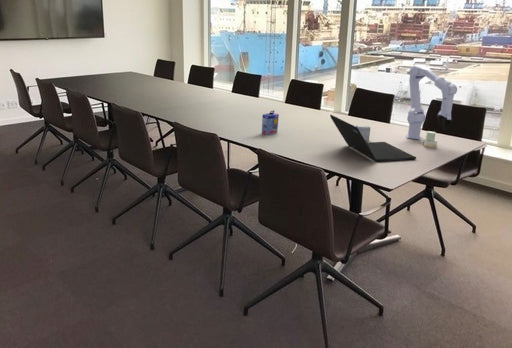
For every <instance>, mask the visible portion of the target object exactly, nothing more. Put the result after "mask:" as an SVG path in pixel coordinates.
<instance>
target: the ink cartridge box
mask: <svg viewBox="0 0 512 348" xmlns="http://www.w3.org/2000/svg"><path fill="white" fill-rule="evenodd" d="M279 116H280V113H276V112H275V110H270V112H269V113H264V114H262V119H261V121H262V123H261V134H263V135H265V136H269V135H274V134H277V133H278V127H279Z"/></svg>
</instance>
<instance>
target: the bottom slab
mask: <svg viewBox="0 0 512 348" xmlns="http://www.w3.org/2000/svg"><path fill="white" fill-rule="evenodd" d="M437 146H438V144H437V145H428V144H425V143H424V142H423V147H425V148H433V149H437Z"/></svg>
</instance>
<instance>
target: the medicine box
mask: <svg viewBox="0 0 512 348" xmlns="http://www.w3.org/2000/svg"><path fill="white" fill-rule="evenodd" d="M355 127H357V128H358V130H359V131H360V133H361V135H362V136H363V138H364V140H365V141H366V142H369V141H370V135H371V127H370V126H369V125H355Z"/></svg>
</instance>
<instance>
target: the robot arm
mask: <svg viewBox="0 0 512 348" xmlns="http://www.w3.org/2000/svg"><path fill="white" fill-rule="evenodd" d="M425 77H426V78H427V79H429V80H431V81H432V82H433V83H434V86H435V87H436V88H437V89H439V90H440V92H441V94H442V95H441V97H442V100H441V106H440V110H439V112H438V113H437V115H436V117H437V121H438V128H440V129H442V131H443V132H447V131H448V129H449V128H450V125H451V124H452V122H453V119H452V110H453V103H454V99H455V98H454V97H455V94H457V92H458V88H457V86H456V85H455V84H451V83H450V82H449V81H447V80H446V78H445V77H444V76H443V77H441V76H440V77H439V76H438V75H437V74H436V73H434V71H432V69H431V67H429V66H428V65H413V66H411V68H410V69H409V78H408V79H409V96H410V97H409V98H410V109H409V110H408V111H407V113H408V114H407V118H406V119H407V123H408V124H409V126H408V132H407V134H406V138H407V139H412V140H421V132H422V125H423V123H424V122H425V121H426V114H425V111H424V109H423V108H421V107H422V106H421V96H420V95H421V94H420V81H421V80H422V79H424V78H425Z"/></svg>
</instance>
